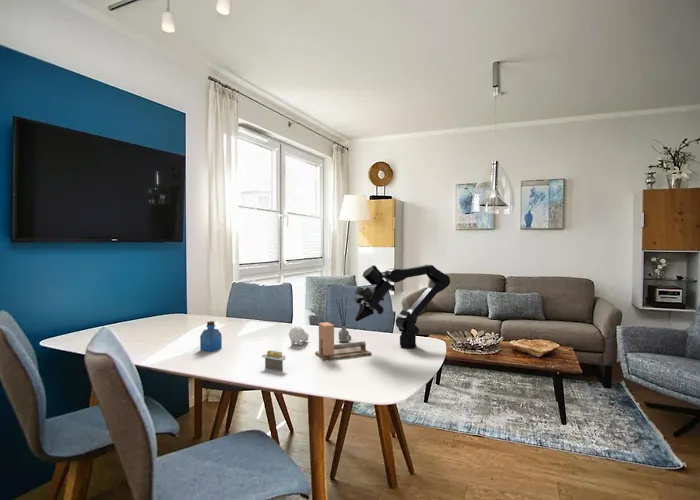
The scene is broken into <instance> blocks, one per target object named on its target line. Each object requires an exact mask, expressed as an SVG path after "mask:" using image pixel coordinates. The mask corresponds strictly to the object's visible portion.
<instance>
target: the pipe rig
mask: <svg viewBox="0 0 700 500" xmlns="http://www.w3.org/2000/svg"><path fill="white" fill-rule="evenodd" d="M366 345H367V344H366V341H365V340H364V341H356V342H355V341H354V342H346V343H345V342H344V343H337V344H335V343H334V355H327V356H324V355H323V346H321V353H320V352H319V350H318V351H316V350H315V353H314V354H315V355H316V356H317V357H319V358H320V359H321V358H322V360H323V361H324V362H326V360H328V361H334V359H336V360H342V359H343V358H344V359H350V358H351V357H352V358H359V356H360V357H365V356H366V355H368V356H372V352H371V351H369V350H368V349H366V347H367V346H366Z"/></svg>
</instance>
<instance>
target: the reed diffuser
mask: <svg viewBox="0 0 700 500" xmlns="http://www.w3.org/2000/svg"><path fill="white" fill-rule="evenodd" d="M347 300H348V298H346V299H345V304H347V302H348V301H347ZM340 301H341V302H338V301H337V300H335V302H336V306H337V309H338V312H339V315H340V319H341V329H340V330H339V331H338V341H341V342H346V341H349V340H351V339H352V336H351V335H350V334H349V330H348V329H346V327H347V326H346V322H344V320H345V319H346V314H347V309H345V314H344V313H342V311H344V306H343V304H340V303H343V300H342V298H341V299H340ZM340 307H341V308H340ZM341 309H342V311H341Z"/></svg>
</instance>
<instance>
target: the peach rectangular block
mask: <svg viewBox="0 0 700 500" xmlns="http://www.w3.org/2000/svg"><path fill="white" fill-rule="evenodd" d="M334 345H335V325H334V324H332V323H330V322H328V321H327V322H318V351H319V352H320V353H321V346H323V355H324V356H327V355H334Z"/></svg>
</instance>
